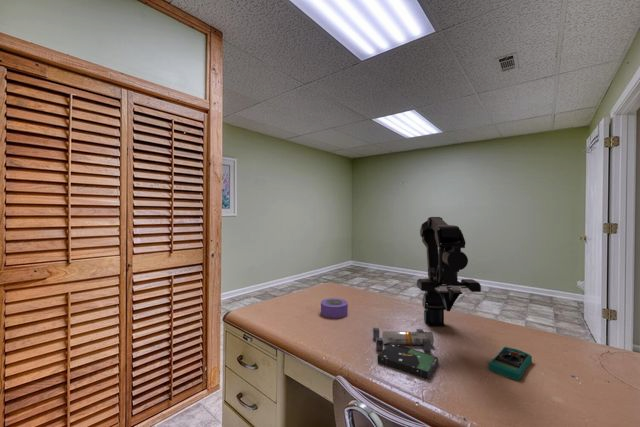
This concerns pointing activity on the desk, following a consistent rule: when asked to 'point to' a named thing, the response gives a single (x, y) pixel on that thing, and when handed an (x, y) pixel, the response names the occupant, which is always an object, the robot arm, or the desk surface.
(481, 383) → the desk surface
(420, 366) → the disk drive
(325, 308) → the tape roll
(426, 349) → the collar stand
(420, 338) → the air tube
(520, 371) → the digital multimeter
